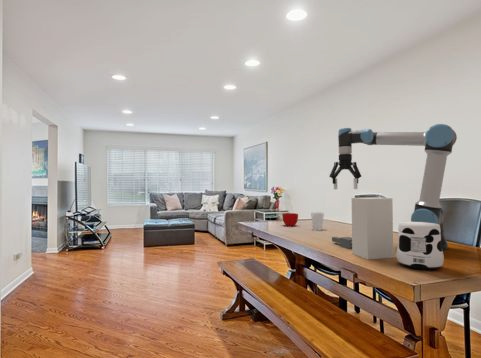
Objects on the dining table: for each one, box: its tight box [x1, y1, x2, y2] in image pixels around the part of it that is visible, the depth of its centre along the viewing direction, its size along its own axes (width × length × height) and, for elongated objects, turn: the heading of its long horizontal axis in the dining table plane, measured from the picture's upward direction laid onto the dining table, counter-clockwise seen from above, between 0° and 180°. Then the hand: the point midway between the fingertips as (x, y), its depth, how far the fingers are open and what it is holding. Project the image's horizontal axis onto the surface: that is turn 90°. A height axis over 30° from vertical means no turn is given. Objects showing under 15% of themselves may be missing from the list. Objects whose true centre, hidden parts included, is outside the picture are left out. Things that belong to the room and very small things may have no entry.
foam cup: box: [310, 211, 325, 231], centre depth 236 cm, size 10×9×13 cm
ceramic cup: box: [281, 212, 299, 227], centre depth 260 cm, size 13×17×10 cm
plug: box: [331, 236, 352, 250], centre depth 175 cm, size 19×6×5 cm, turn 20°
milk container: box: [395, 221, 445, 270], centre depth 132 cm, size 17×17×18 cm
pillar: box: [351, 196, 394, 260], centre depth 152 cm, size 12×14×28 cm
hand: (345, 189), depth 187 cm, fingers open, 13 cm apart
